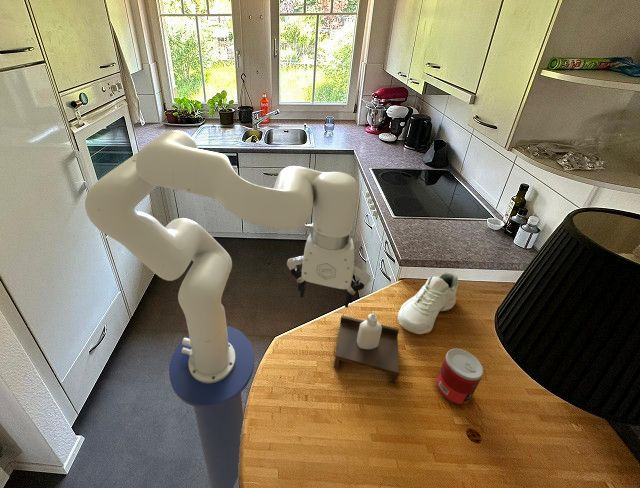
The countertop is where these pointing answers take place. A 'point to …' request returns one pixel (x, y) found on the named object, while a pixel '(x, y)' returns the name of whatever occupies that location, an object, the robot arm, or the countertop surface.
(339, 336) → the shelf
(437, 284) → the running shoe
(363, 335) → the eye dropper bottle
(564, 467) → the countertop surface
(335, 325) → the countertop surface
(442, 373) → the canned food
